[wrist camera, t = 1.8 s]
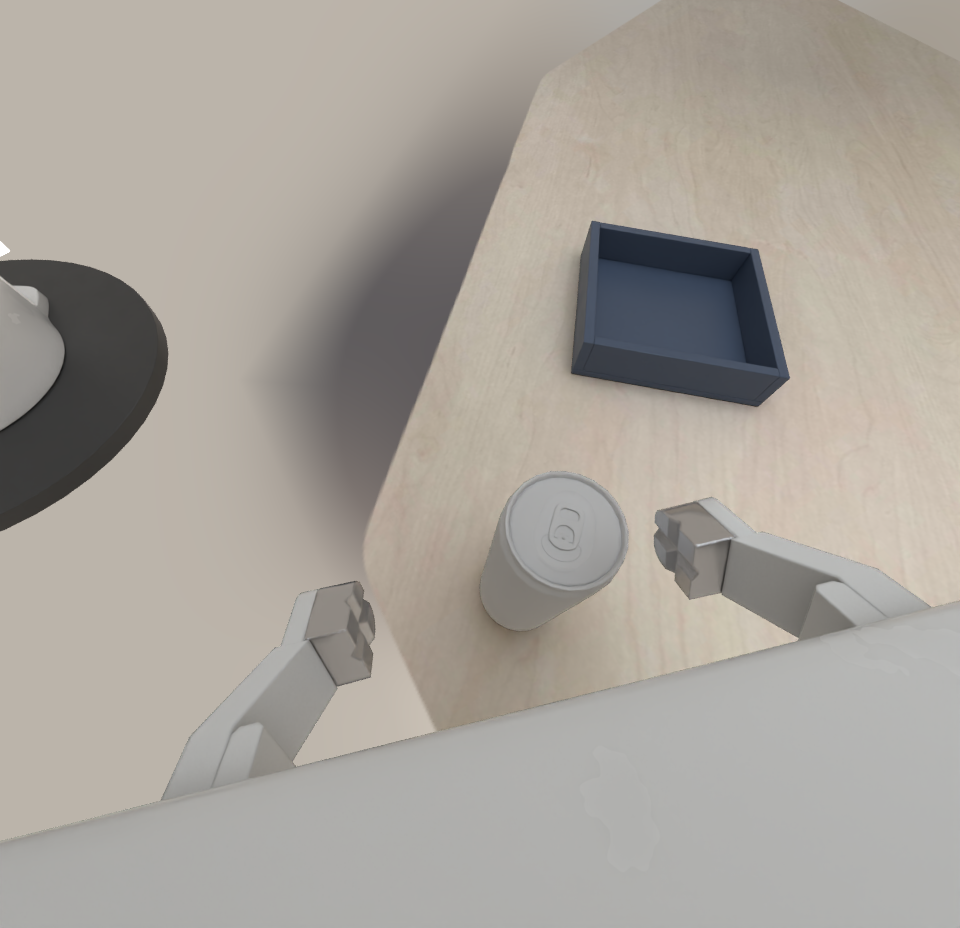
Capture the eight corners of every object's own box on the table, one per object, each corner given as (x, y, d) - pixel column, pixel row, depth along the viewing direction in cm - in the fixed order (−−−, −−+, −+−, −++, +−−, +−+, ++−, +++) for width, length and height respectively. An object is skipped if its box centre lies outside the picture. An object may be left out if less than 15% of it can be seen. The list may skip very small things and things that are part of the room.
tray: (571, 373, 34) (583, 341, 31) (580, 255, 41) (591, 220, 38) (758, 406, 34) (790, 378, 30) (734, 282, 41) (758, 249, 38)
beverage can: (467, 615, 24) (482, 566, 14) (493, 542, 27) (522, 451, 16) (544, 644, 24) (621, 616, 13) (563, 567, 26) (641, 491, 16)
